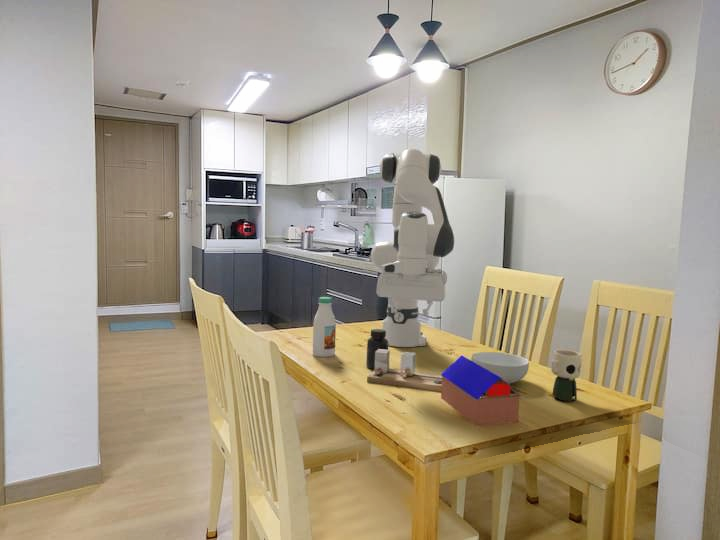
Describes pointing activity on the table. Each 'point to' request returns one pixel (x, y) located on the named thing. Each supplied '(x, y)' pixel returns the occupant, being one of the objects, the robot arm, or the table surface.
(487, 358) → the cereal bowl
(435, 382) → the board
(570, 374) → the character mug
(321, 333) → the milk bottle
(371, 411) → the table surface
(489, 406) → the house
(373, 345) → the supplement bottle
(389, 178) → the robot arm
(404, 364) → the block
